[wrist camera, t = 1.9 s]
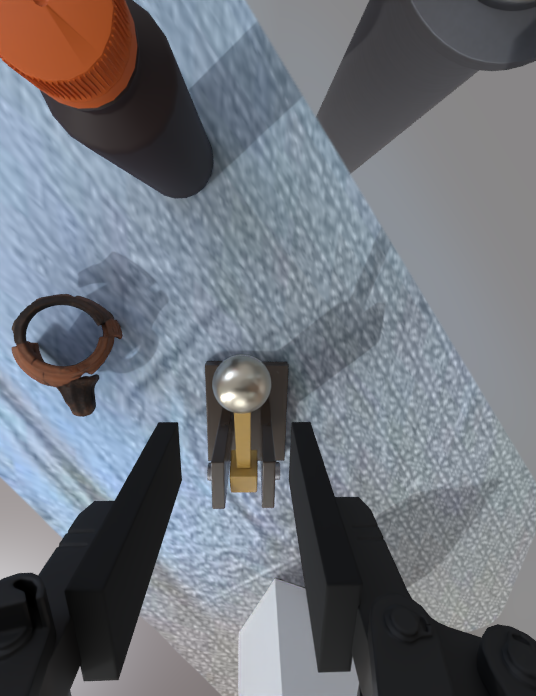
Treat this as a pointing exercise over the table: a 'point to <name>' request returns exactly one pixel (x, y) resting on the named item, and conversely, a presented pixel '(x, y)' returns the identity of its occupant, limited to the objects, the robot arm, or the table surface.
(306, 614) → the milk
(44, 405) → the table surface
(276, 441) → the dark grey lever stand
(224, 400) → the tap lever
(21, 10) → the bottle
